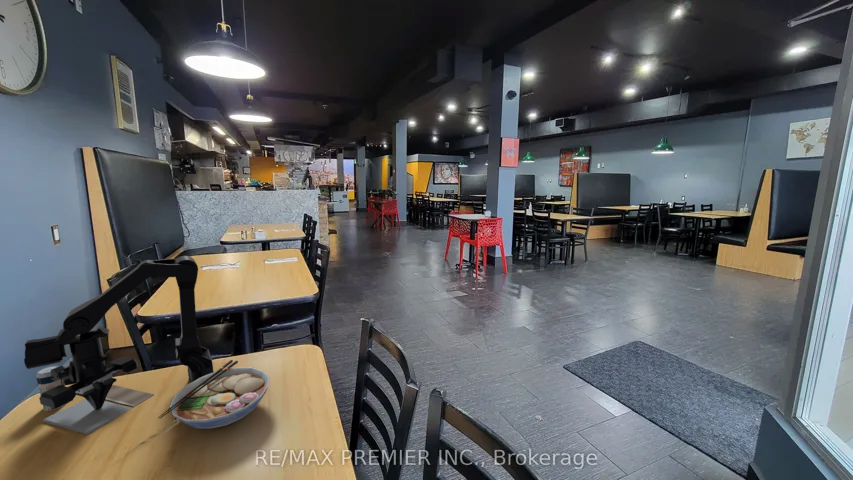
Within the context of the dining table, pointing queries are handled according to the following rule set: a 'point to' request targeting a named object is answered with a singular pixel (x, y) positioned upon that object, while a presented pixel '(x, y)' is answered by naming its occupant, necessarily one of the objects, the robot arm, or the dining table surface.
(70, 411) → the grey tile
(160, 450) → the dining table surface
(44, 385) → the grey can
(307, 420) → the dining table surface
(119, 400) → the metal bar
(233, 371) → the ramen bowl
